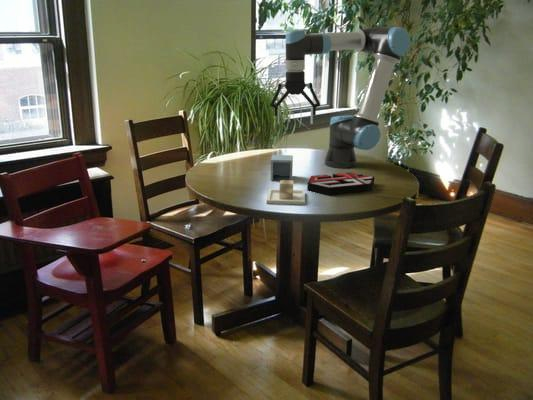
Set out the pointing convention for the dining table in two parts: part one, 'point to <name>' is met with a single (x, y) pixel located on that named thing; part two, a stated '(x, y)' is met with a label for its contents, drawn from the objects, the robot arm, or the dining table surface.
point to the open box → (281, 165)
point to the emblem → (340, 184)
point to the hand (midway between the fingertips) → (295, 123)
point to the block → (286, 189)
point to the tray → (297, 199)
